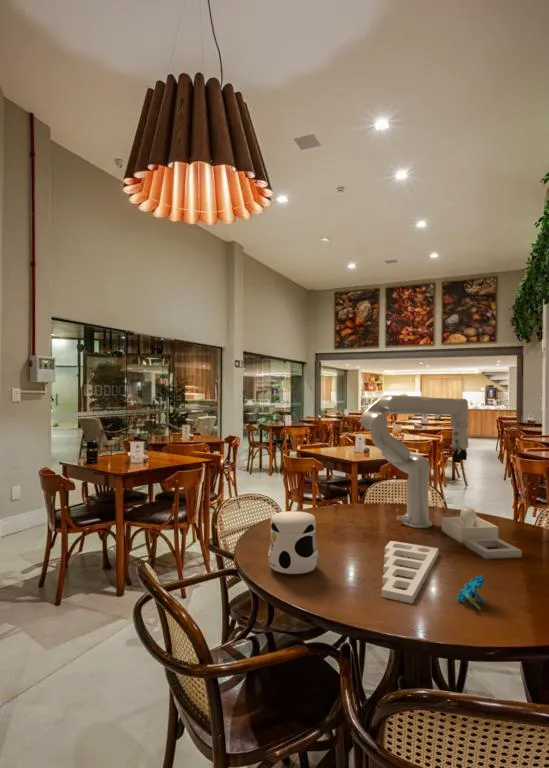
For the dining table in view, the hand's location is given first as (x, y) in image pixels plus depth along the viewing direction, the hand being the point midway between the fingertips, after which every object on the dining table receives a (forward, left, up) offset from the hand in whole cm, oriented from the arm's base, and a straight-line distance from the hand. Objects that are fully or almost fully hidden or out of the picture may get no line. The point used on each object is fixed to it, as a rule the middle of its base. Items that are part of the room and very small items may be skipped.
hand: (459, 461), depth 210 cm
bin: (-8, -21, -28) cm, 36 cm away
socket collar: (-9, -39, -28) cm, 49 cm away
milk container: (-87, -47, -28) cm, 103 cm away
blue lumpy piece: (-40, -77, -29) cm, 91 cm away
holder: (-51, -52, -29) cm, 78 cm away
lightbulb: (-8, -21, -28) cm, 35 cm away
